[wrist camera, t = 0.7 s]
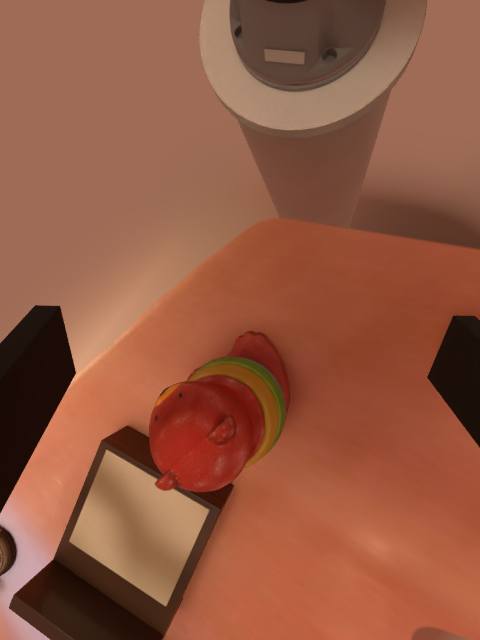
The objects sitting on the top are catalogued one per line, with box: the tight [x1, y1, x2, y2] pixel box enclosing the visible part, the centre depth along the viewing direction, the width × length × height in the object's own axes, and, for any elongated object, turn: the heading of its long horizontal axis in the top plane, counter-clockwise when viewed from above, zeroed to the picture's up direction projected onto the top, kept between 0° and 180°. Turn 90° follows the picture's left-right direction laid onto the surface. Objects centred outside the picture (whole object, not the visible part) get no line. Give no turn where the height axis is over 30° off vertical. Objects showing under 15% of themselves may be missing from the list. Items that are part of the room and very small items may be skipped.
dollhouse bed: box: [9, 426, 234, 640], centre depth 36 cm, size 16×14×10 cm
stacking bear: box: [149, 331, 290, 492], centre depth 30 cm, size 11×10×18 cm
